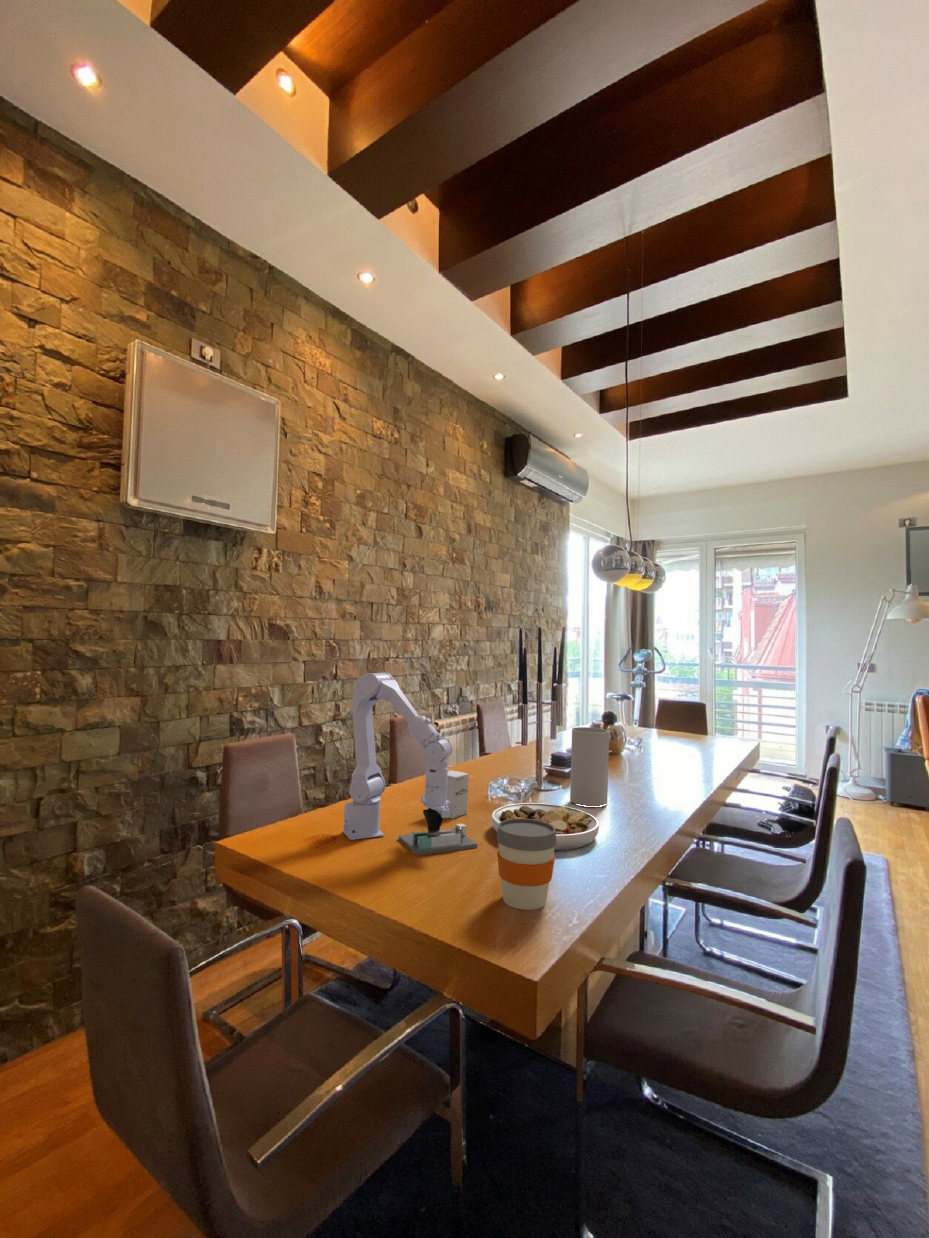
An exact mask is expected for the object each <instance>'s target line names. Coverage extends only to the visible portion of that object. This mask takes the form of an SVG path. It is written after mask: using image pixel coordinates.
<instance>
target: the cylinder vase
mask: <svg viewBox="0 0 929 1238" xmlns="http://www.w3.org/2000/svg"><path fill="white" fill-rule="evenodd" d="M609 749H610V730H608V729H605V728H598V727H589V726H588V727H584V726H583V727H582V726H581V727H572V728H571V754H570V755H571V756H570V758H571V759H570V783H569V784H570V786H569V787H570V788H569V790H570V792H569V801H570V802H571V803H572V802H573V803H575V804H580V805H586V806H600V805H604V804H607V805H608V798H609V797H608V794H609V793H608V792H609V791H608V790H609V789H608V788H609V756H610V754H609V753H610V750H609ZM573 803H572V804H573ZM575 804H574V805H575Z"/></svg>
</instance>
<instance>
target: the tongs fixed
mask: <svg viewBox="0 0 929 1238" xmlns="http://www.w3.org/2000/svg"><path fill="white" fill-rule="evenodd" d="M454 829H455V833H448V834H440V835H432V836H430V835H428V836H419V837H418V840H417V849H418V850H426V849H433V848H441V847H448V846H456V845H461V843H462V839H463V827H456V826H455V827H454Z"/></svg>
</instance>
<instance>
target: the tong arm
mask: <svg viewBox="0 0 929 1238" xmlns="http://www.w3.org/2000/svg"><path fill="white" fill-rule="evenodd" d="M451 829H452V828H451ZM451 829H450V828H449V829H440V830H436V831H428V830H427V831H426V830H425V831H424V830H423V831H413V832H412V833H411V834H412V845H413V846H415V845H417V840H418V837H419V836H428V835H430V836H432V835H440V834H448V833H452V830H451Z"/></svg>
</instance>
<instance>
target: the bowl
mask: <svg viewBox="0 0 929 1238" xmlns="http://www.w3.org/2000/svg"><path fill="white" fill-rule="evenodd" d="M491 813H492V814H491V824H492V827H493V829H494V831H495V832H496V833H497V831H498V824H499V823H500V822H502V821H504V820H508V819H534V820H539V821H543V822H546V823H549V824H551V825H553V826H554V827H555V829H556V841H557V844H556V846H555V847H554V851H566V850H574V848H575V849H579V848H581V847H584V846H587V845H588V844H590V843H592V842H593V841H594V840H595V838H597V836H598V833H599V830H600V822H599V820H598V818H596V817H595V816H594V815H592V814H590V813H588V812H586V811H583V810H581V809H577V808H573V807H570V806H566V805H560V804H552V803H543V802H542V803H541V802H539V803H538V802H534V803H533V802H527V803H526V802H525V803H512V804H507V805H503V806H501V807H498V808H496V809H495V810H493V812H491Z"/></svg>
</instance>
